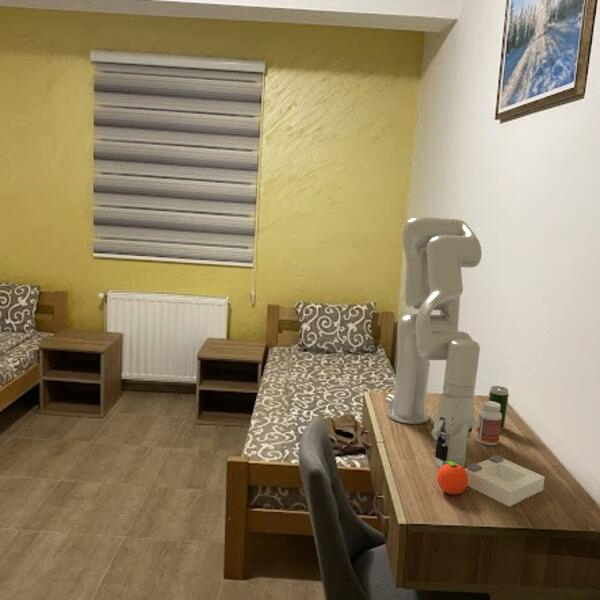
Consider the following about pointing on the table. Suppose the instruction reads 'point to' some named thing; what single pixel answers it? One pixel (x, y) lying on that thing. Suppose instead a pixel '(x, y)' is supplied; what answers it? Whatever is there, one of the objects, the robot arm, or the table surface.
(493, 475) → the socket plate
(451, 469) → the clementine
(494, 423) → the pill bottle
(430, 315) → the robot arm
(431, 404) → the table surface
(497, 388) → the beer can
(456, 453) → the skincare box
